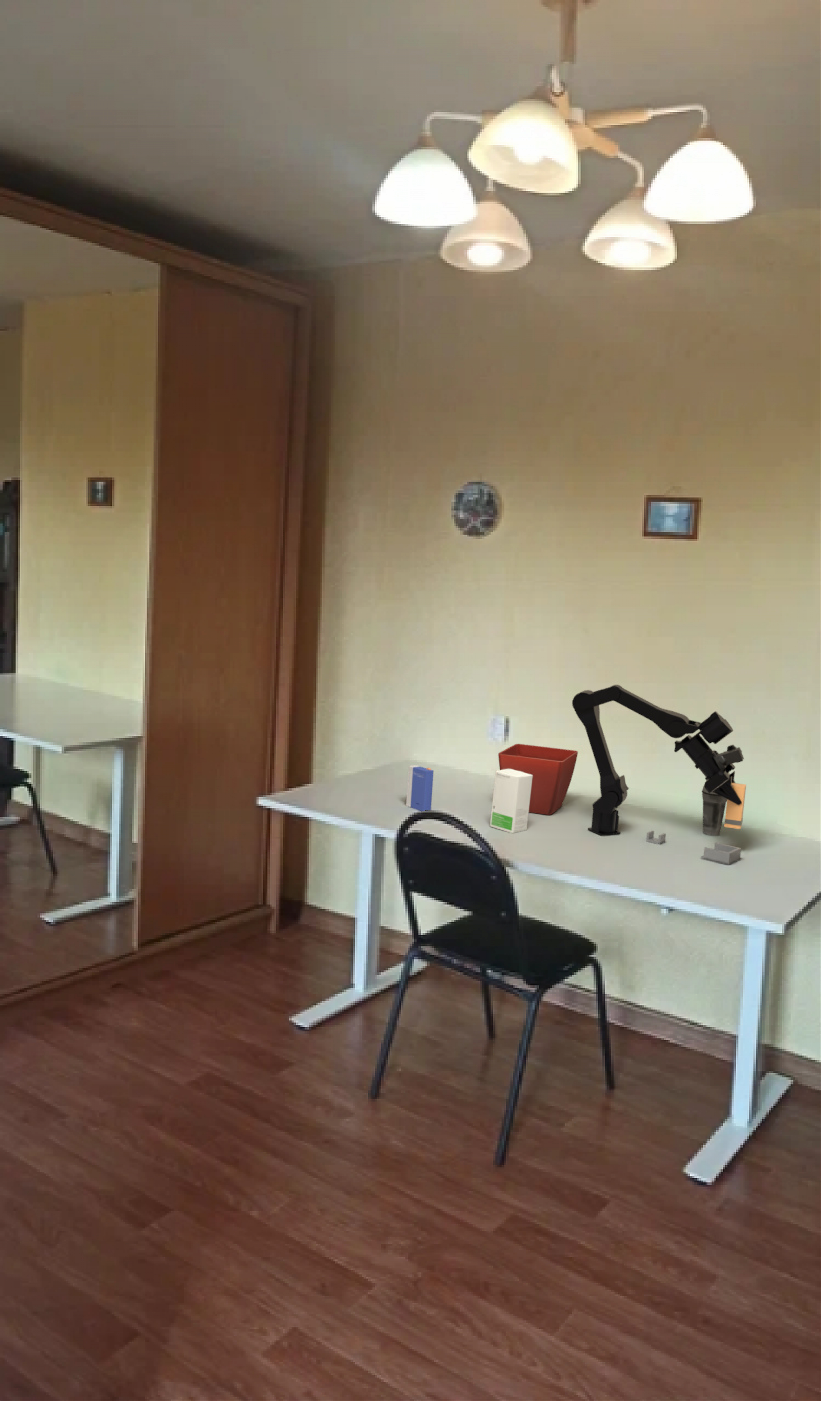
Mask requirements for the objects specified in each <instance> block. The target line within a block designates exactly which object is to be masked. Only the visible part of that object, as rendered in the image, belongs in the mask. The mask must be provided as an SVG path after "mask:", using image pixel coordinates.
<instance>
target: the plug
mask: <svg viewBox="0 0 821 1401" xmlns="http://www.w3.org/2000/svg"><path fill="white" fill-rule="evenodd" d="M732 786H733V788H734V790H735V791H736V793H737V795H738V796H739V798H740V800H741V802H742V803H741V804H740V805H737V804H736V803H734V802H732V801H730V800H728V799H727V802H726V806H725V817H724V828H731V829H736V830H741V828H742V826H743V819H744V818H743V817H744V807H745V798H746V792H747V791H746V789H747V784H743V783H738V782H737V783H736V782H735V783H732Z"/></svg>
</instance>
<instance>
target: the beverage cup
mask: <svg viewBox="0 0 821 1401" xmlns="http://www.w3.org/2000/svg"><path fill="white" fill-rule="evenodd" d="M704 787H705V783H704V784H703V786H702V789H701V793H702V794H701V795H702V796H701V797H702V833H703V834H704V835H707V836H715V837H716V836H720V834H721V830H722V826H723V822H724V821H723V820H724V814H725V812H726V806H727V799H726V798H724V797H722V796H720V795H718V794H716V793H713V792H710V793H709V792H708V791H707V790H706V789H705V788H704Z"/></svg>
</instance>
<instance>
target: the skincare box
mask: <svg viewBox="0 0 821 1401" xmlns="http://www.w3.org/2000/svg"><path fill="white" fill-rule="evenodd" d="M494 775H495V776H494V785H493V794H492V803H491V813H490V822H489V823H490V824H489V826H490V827H491V828H494V829H498V830H502V831H504V832H507V833H510V834H516V833H520V831H521V832H525V831H527V829H528V819H529V813H530V812H529V803H530V794H531V786H532V777H533V775H531V774H527V773H524V772H521V771H517V770H513V769H504V770H500V769H499V770H495V774H494ZM524 830H525V831H524Z"/></svg>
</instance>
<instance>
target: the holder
mask: <svg viewBox="0 0 821 1401" xmlns="http://www.w3.org/2000/svg"><path fill="white" fill-rule="evenodd" d="M741 850H742V848H741V847H737V846H733V845H728V844H724V843H721V842H720V843H719V842H714V848H710V847H704V848H703V855H702V856H701V855H700V859H701V860H705V861H709V862H713V863H718V864H722V865H725V866H730V865H732V864H734V863H737V862H738V861H740V860H741V853H742V852H741Z"/></svg>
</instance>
